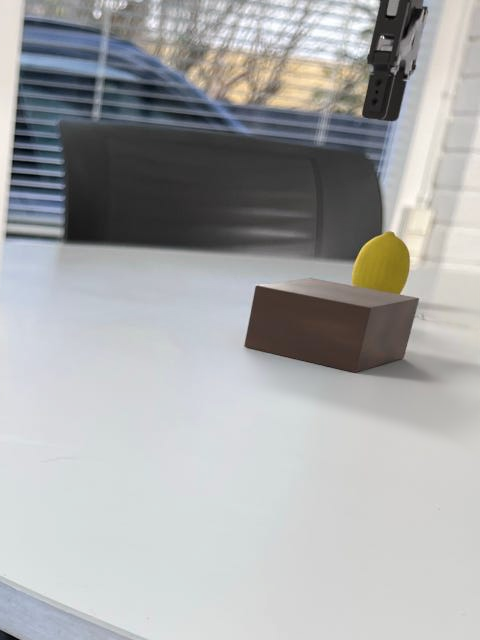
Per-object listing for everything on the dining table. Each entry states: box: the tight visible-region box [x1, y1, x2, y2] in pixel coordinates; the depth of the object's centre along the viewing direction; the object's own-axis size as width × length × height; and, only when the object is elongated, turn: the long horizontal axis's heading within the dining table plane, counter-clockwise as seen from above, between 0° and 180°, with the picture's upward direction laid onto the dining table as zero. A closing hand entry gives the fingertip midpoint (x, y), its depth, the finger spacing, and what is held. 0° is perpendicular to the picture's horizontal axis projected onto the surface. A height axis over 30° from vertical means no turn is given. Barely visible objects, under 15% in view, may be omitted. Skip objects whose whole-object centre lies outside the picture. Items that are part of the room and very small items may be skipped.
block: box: [243, 277, 420, 373], centre depth 88 cm, size 10×10×5 cm
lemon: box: [351, 230, 411, 295], centre depth 110 cm, size 6×6×8 cm
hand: (379, 119), depth 106 cm, fingers open, 8 cm apart
